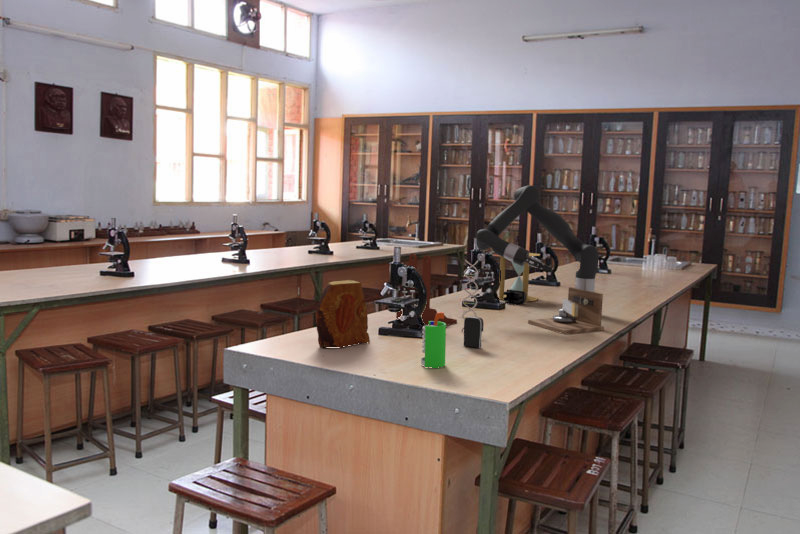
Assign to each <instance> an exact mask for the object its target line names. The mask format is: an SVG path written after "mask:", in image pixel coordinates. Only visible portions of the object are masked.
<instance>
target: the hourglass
mask: <svg viewBox="0 0 800 534" xmlns="http://www.w3.org/2000/svg"><path fill="white" fill-rule="evenodd" d="M540 255H541V253H535V252H534V253H533V252H529V257H537V256H538V257H539V256H540ZM506 260H507V259H506V258H504V257H502V256H500V266H499V271H500V270H501V282H500V281H499V283H500V286H499V287H498V289H499V291H498V296H499V299H498V300H503V301H504V299H503V298H504V297H506V295H504V292H505V283H506V282H505V281H506ZM510 263H511V264H512V266H513V268H514V270H515V273H516V274H517V278H516V279H515V280H514V283H512V285H511V287H510V288H509V290H516V291H524V292H525V293H526V301H525V302H524V303H527V302H534V301H538V299H539V297H535V296H529V295H528V294H529V282H530V281H529V279H530V266H529V265H527V264H528V263H527V262H525V264H524V265H523V266H520V265H518V264H516V263H514V262H512V261H510ZM521 275H522V277H521Z"/></svg>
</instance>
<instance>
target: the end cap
mask: <svg viewBox="0 0 800 534" xmlns="http://www.w3.org/2000/svg"><path fill="white" fill-rule="evenodd" d="M504 295H506V297H504V298H503V299H504V300H503V301H504V302H505V303H504V304H506V303H509V304H508V305H514V304H516V305H515V306H522V305H524V303H526V302H525V301H526V293H525V292H524V291H516V290H510V289H506V291H504ZM521 304H522V305H521Z"/></svg>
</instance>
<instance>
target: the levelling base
mask: <svg viewBox="0 0 800 534" xmlns="http://www.w3.org/2000/svg"><path fill="white" fill-rule="evenodd" d="M567 295H568V296H567V297H568V298H567V299H568V300H570V301H572V302H574V303H576V304H578V316H577V317H576V322H575V323H560V322H555V321H553V317H549V318H537V319H528V320H527V324H529V325H532V326H535V325H536V326H535V327H539V328H542V327H543V329H545V328H546V329H545V330H549V329H550V331H552V330H554V331H553V332H556V331H558V332H557V333H559V332H561V333H560V334H562V333H564V334H563V335H566V334H565V333H570V334H578V333H577V332H581V333H590V332H589V331H591V332H600V330H602V331H605V326H604V325H603V326H602V315H603V302H604V301H603V298H604V294H603V293H601V292H595V291H594V292H592V291H587V290H582V289H577V288H575V287H568V293H567ZM568 316H572V315H571V314H569V313H568ZM573 317H574V316H573Z"/></svg>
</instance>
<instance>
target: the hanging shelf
mask: <svg viewBox="0 0 800 534" xmlns="http://www.w3.org/2000/svg"><path fill="white" fill-rule="evenodd" d="M409 266H413V267H415V268H416V270H417V268H418V256H417V254H416V253H411V254H410V255H409V257H408V267H409ZM417 271H418V270H417ZM431 274H432V257H431V256H430V255H424V256H423V259H422V278H421V279H423V281H424V284H425V286H426V289H427V304H426V308H425V310H424V312H423V314H422V319H423V322H424V323H425V324H424V325H426V324H429V321H434V320H435V316H436V314H437V313H438V311H437V309H436V308H431V307H430V305H431V281H432V280H431V279H432V277H431V276H432V275H431ZM401 314H402V311H400V312H397V313H396V314H395V315H396V316H395V317H396V318H398V317H400V316H401ZM396 318H395V319H396ZM438 322H444V323H446V326H449V325H448V324H450V325H454V324H453V323H455V324H457V323H458V319H456V318H452V317H451V318H450V317H447V316H446V315H445V314H444V319H441V318H440V319H438Z"/></svg>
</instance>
